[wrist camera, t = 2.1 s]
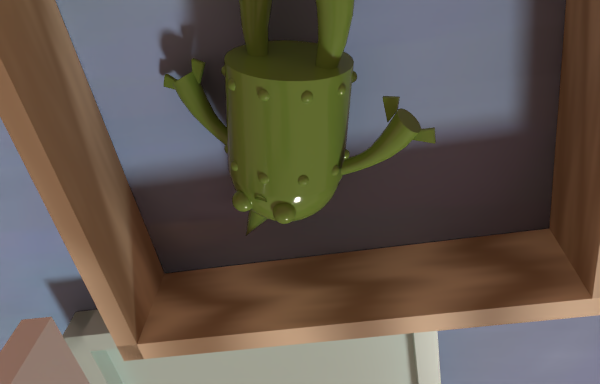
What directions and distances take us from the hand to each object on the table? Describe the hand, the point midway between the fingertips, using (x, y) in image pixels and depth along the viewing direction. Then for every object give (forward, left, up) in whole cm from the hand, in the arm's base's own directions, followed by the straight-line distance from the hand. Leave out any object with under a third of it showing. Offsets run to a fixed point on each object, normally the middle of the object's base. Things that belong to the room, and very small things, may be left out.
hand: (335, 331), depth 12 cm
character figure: (-2, 0, -14) cm, 14 cm away
